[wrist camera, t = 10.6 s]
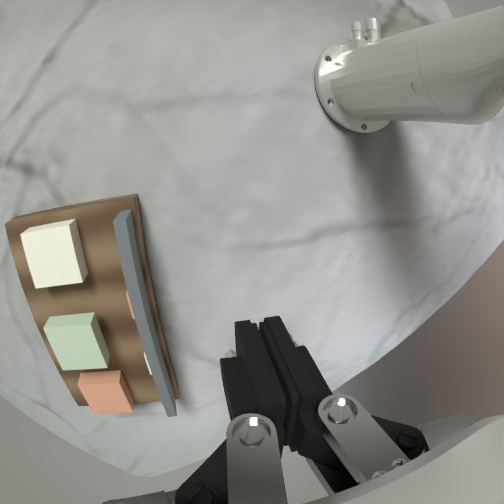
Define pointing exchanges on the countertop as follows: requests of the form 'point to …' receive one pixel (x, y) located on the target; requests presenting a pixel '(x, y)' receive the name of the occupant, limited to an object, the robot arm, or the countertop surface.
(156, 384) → the keypad
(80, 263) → the key cream
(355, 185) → the countertop surface
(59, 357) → the key sage
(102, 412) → the key terracotta
